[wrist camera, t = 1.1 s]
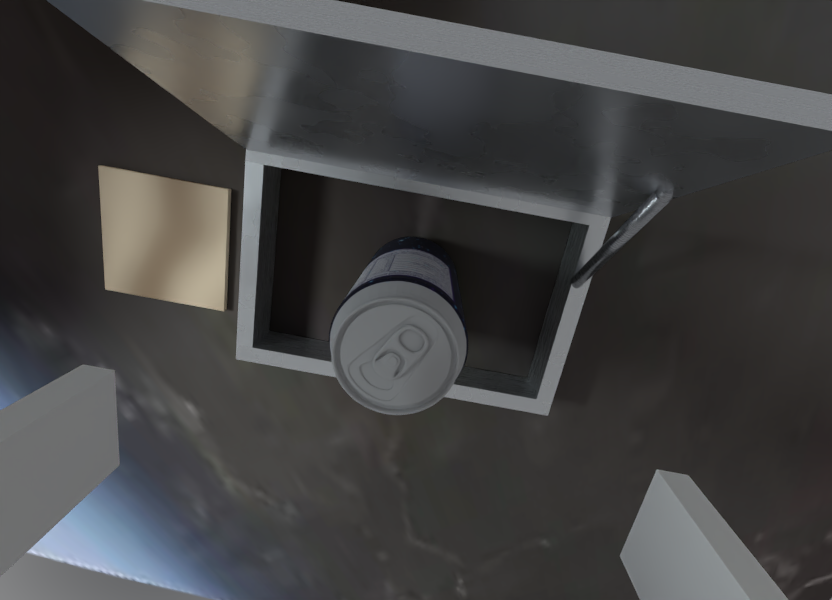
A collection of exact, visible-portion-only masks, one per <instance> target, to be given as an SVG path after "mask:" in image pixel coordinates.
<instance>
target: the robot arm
mask: <svg viewBox="0 0 832 600" xmlns="http://www.w3.org/2000/svg"><path fill="white" fill-rule="evenodd" d="M119 465H120V463H119V443H118V424H117V405H116V385H115V370H111V369H105V368H100V367H94V366H89V365H81V366H79V367H77V368H76V369H74V370H72V371H70V372H69V373H67V374H65V375H63V376H61V377H60V378H58V379H56V380H54V381H52V382H51V383H49V384H47V385H45V386H43V387H42V388H40V389H38V390H36V391H35V392H33V393H31V394H29V395H27V396H26V397H24V398H22V399H20V400H18V401H17V402H15V403H13V404H11V405H9V406H8V407H6V408H4V409H2V410H0V576H1V575H3V574H4V573H5V572H6V571H7V570H8V569H9V568H10V567H11V566H12V565H13V564H14V563H15V562H17V561H18V560H19V559H20V558H21V557H22V556H23V555H24V554H25V553H26V552H27V551H28V550H29V549H30V548H31V547H33V546H34V545H35V544H36V543H37V542H38V541H39V540H40V539H41V538H42V537H43V536H44V535H45V534H46V533H47V532H49V531H50V530H51V529H52V528H53V527H54V526H55V525H56V524H57V523H58V522H59V521H60V520H61V519H62V518H63V517H65V516H66V515H67V514H68V513H69V512H70V511H71V510H72V509H73V508H74V507H75V506H76V505H77V504H78V503H79V502H81V501H82V500H83V499H84V498H85V497H86V496H87V495H88V494H89V493H90V492H91V491H92V490H93V489H94V488H96V487H97V486H98V485H99V484H100V483H101V482H102V481H103V480H104V479H105V478H106V477H107V476H108V475H109V474H110V473H112V472H113V471H114V470H115V469H116V468H117V467H118V466H119ZM620 558H621V560H622V562H623V564H624V566H625V568H626V571H627V573H628V575H629V577H630V579H631V581H632V584H633V586H634V588H635V590H636V592H637V594H638V597H639V599H640V600H788V598H787V597H786V596H785V595H784V594H783V592H782V591H781V590H780V589H779V587H778V586H777V585H776V584H775V582H774V581H773V580H772V579H771V577H770V576H769V575H768V574H767V572H766V571H765V570H764V569H763V567H762V566H761V565H760V564H759V562H758V561H757V560H756V559H755V557H754V556H753V555H752V554H751V552H750V551H749V550H748V549H747V547H746V546H745V545H744V544H743V543H742V541H741V540H740V539H739V538H738V536H737V535H736V534H735V533H734V531H733V530H732V529H731V528H730V526H729V525H728V524H727V523H726V521H725V520H724V519H723V518H722V516H721V515H720V514H719V513H718V511H717V510H716V509H715V508H714V506H713V505H712V504H711V503H710V501H709V500H708V499H707V498H706V496H705V495H704V494H703V493H702V492H701V490H700V489H699V488H698V487H697V485H696V484H695V483H694V482H693V480H692V479H691V478H690V477H689V475H685V474H680V473H674V472H669V471H663V470H658V469H657V470H656V472H655V475H654V477H653V479H652V482H651V484H650V486H649V489H648V491H647V493H646V496H645V498H644V500H643V503H642V505H641V507H640V510H639V512H638V514H637V517H636V519H635V521H634V524H633V526H632V528H631V531H630V533H629V535H628V538H627V540H626V542H625V545H624V547H623V549H622V552H621V554H620Z"/></svg>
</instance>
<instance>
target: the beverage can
mask: <svg viewBox="0 0 832 600" xmlns="http://www.w3.org/2000/svg"><path fill="white" fill-rule="evenodd" d="M329 348H330V353H331V359H332V365H333V369H334V372H335V375H336V377H337V379H338V381H339V383H340V385H341V386H342V387H343V389H344V390H345V391H346V393H347V394H348V395H350V396H351V397H352V398H353V399H354V400H355V401H357V402H358V403H359V404H361V405H363V406H365V407H366V408H368V409H371V410H373V411H376V412H379V413H384V414H389V415H407V414H412V413H417V412H420V411H422V410H425V409H427V408H429V407H431V406H433V405H434V404H436V403H437V402H438V401H440V400H441V399H442V398H443V397H444V396H445V395H446V394H447V393H448V391H449V390H450V389H451V387H452V386H453V384H454V382H455V381H456V380H457V378H458V377H459V375H460V373H461V372H462V370H463V367H464V365H465V362H466V358H467V354H468V335H467V329H466V323H465V318H464V312H463V307H462V301H461V295H460V290H459V284H458V279H457V273H456V269H455V266H454V264H453V262H452V260H451V258H450V256H449V255H448V254H447V253H446V252H445V250H443V249H442V248H441V247H440V246H439V245H437V244H436V243H434V242H432V241H430V240H427V239H424V238H420V237H402V238H398V239H395V240H393V241H391V242H389V243H387V244H385V245H384V246H383V247H382V248H380V249H379V250H378V252H377V253H376V254H375V255H374V257H373V258H372V260H371V261H370V263H369V264H368V265H367V267H366V268H365V270H364V271H363V273H362V274H361V276H360V277H359V279H358V280H357V281H356V283H355V284H354V286H353V287H352V289H351V290H350V292H349V293H348V295H347V296H346V297H345V299H344V300H343V302H342V303H341V305H340V306H339V308H338V309H337V311H336V313H335V315H334V317H333V320H332V323H331V327H330V332H329Z"/></svg>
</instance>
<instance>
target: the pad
mask: <svg viewBox="0 0 832 600" xmlns="http://www.w3.org/2000/svg"><path fill="white" fill-rule="evenodd" d="M98 170H99V187H100V205H101V223H102V241H103V259H104V277H105V290H111V291H116V292H122V293H127V294H133V295H138V296H143V297H149V298H154V299H160V300H165V301H171V302H176V303H182V304H187V305H193V306H198V307H204V308H209V309H215V310H220V311H225V310H226V309H227V288H228V262H229V237H230V211H231V189H228V188H223V187H217V186H212V185H207V184H201V183H196V182H190V181H185V180H180V179H174V178H169V177H163V176H158V175H153V174H147V173H142V172H136V171H131V170H126V169H120V168H115V167H109V166H104V165H98Z"/></svg>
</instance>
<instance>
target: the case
mask: <svg viewBox="0 0 832 600" xmlns="http://www.w3.org/2000/svg"><path fill="white" fill-rule="evenodd" d="M46 1H48V2H49V3H50V4H52V5H53V6H54V7H56V8H57V9H58V10H60V11H61V12H62V13H64V14H65V15H66V16H68V17H69V18H70V19H72V20H73V21H74V22H76V23H77V24H78V25H80V26H81V27H82V28H84V29H85V30H86V31H88V32H89V33H90V34H92V35H93V36H94V37H96V38H97V39H98V40H100V41H101V42H102V43H104V44H105V45H107V46H108V47H109V48H111V49H112V50H113V51H115V52H116V53H117V54H119V55H120V56H121V57H123V58H124V59H125V60H127V61H128V62H129V63H131V64H132V65H133V66H135V67H136V68H137V69H139V70H140V71H141V72H143V73H144V74H145V75H147V76H148V77H149V78H151V79H152V80H153V81H155V82H156V83H157V84H159V85H160V86H161V87H163V88H164V89H165V90H167V91H168V92H169V93H171V94H172V95H173V96H175V97H176V98H177V99H179V100H180V101H181V102H183V103H184V104H185V105H187V106H188V107H189V108H191V109H192V110H193V111H195V112H196V113H197V114H199V115H200V116H201V117H203V118H204V119H205V120H207V121H208V122H209V123H211V124H212V125H213V126H215V127H216V128H217V129H219V130H220V131H221V132H223V133H224V134H225V135H227V136H228V137H229V138H231V139H232V140H233V141H235V142H236V143H237V144H239V145H240V146H241V147H243V148H244V149H246V159H245V180H244V201H243V221H242V242H241V263H240V284H239V304H238V325H237V346H236V359H238V360H244V361H249V362H255V363H260V364H266V365H271V366H277V367H282V368H288V369H294V370H299V371H305V372H310V373H316V374H321V375H327V376H332V377H336V375H335V372H334V369H333V365H332V359H331V353H330V348H329V341H323V340H318V339H312V338H307V337H301V336H296V335H290V334H285V333H279V332H274V331H269V330H270V316H271V303H272V289H273V275H274V262H275V248H276V235H277V221H278V208H279V194H280V181H281V168H285V169H290V170H295V171H301V172H306V173H311V174H317V175H322V176H328V177H333V178H338V179H344V180H349V181H354V182H360V183H365V184H371V185H376V186H381V187H387V188H392V189H397V190H403V191H408V192H414V193H419V194H424V195H430V196H435V197H440V198H446V199H451V200H457V201H462V202H467V203H473V204H478V205H483V206H489V207H494V208H500V209H505V210H510V211H516V212H521V213H526V214H532V215H537V216H543V217H548V218H553V219H559V220H564V221H569V222H573V223H572V227H571V230H570V233H569V237H568V240H567V244H566V247H565V251H564V254H563V257H562V261H561V264H560V268H559V271H558V275H557V278H556V281H555V285H554V288H553V292H552V295H551V299H550V302H549V305H548V309H547V312H546V316H545V319H544V323H543V326H542V329H541V333H540V336H539V340H538V343H537V347H536V350H535V353H534V357H533V360H532V364H531V367H530V371H529V374H528V377H527V378H526V377H520V376H515V375H510V374H504V373H499V372H493V371H488V370H482V369H477V368H471V367H466V366H464V367H463V370H462V372H461V373H460V375H459V377H458V378H457V380H456V381H455V382H454V384H453V386H452V387H451V389H450V390H449V391H448V393H447V394H446V395H445V396H444V397H448V398H453V399H459V400H464V401H470V402H475V403H481V404H486V405H492V406H497V407H503V408H508V409H514V410H519V411H525V412H530V413H536V414H541V415H547V416H548V414H549V411H550V407H551V404H552V401H553V398H554V395H555V392H556V389H557V385H558V382H559V379H560V376H561V373H562V370H563V367H564V363H565V360H566V357H567V354H568V351H569V348H570V345H571V342H572V338H573V335H574V332H575V329H576V326H577V323H578V320H579V316H580V313H581V310H582V307H583V304H584V301H585V298H586V294H587V291H588V288H589V285H590V282H591V279H592V276H593V275H594V274H595V273H596V272H597V271H598V270H599V269H600V268H601V267H602V266H603V265H604V264H605V263H606V262H607V261H608V260H609V259H610V258H611V257H612V256H613V255H614V254H616V253H617V252H618V251H619V250H620V249H621V248H622V247H623V246H624V245H625V244H626V243H627V242H628V241H629V240H630V239H631V238H632V237H633V236H634V235H635V234H636V233H637V232H638V231H640V230H641V229H642V228H643V227H644V226H645V225H646V224H647V223H648V222H649V221H650V220H651V219H652V218H653V217H654V216H655V215H656V214H657V213H658V212H659V211H660V210H661V209H662V208H664V207H665V206H666V205H667V204H668V203H669V202H670V201H671V200H672V199H674V198H678V197H681V196H684V195H687V194H691V193H694V192H697V191H700V190H704V189H707V188H710V187H713V186H717V185H720V184H723V183H727V182H730V181H733V180H736V179H740V178H743V177H746V176H749V175H753V174H756V173H759V172H762V171H766V170H769V169H772V168H775V167H779V166H782V165H785V164H789V163H792V162H795V161H798V160H802V159H805V158H808V157H811V156H815V155H818V154H821V153H824V152H828V151H831V150H832V94H826V93H821V92H816V91H811V90H805V89H800V88H795V87H790V86H784V85H779V84H774V83H769V82H763V81H758V80H753V79H747V78H742V77H737V76H732V75H726V74H721V73H716V72H711V71H705V70H700V69H695V68H690V67H684V66H679V65H674V64H668V63H663V62H658V61H653V60H647V59H642V58H637V57H632V56H626V55H621V54H616V53H611V52H605V51H600V50H595V49H589V48H584V47H579V46H574V45H568V44H563V43H558V42H553V41H547V40H542V39H537V38H532V37H526V36H521V35H516V34H510V33H505V32H500V31H495V30H489V29H484V28H479V27H474V26H468V25H463V24H458V23H452V22H447V21H442V20H437V19H431V18H426V17H421V16H416V15H410V14H405V13H400V12H395V11H389V10H384V9H379V8H373V7H368V6H363V5H358V4H352V3H347V2H342V1H337V0H46ZM635 210H636V211H635ZM632 211H635V212H634V213H633V214H632V215H631V216H630V218H629V219H628V220H627V221H626V222H625V223H624V224H623V225H622V226H621V227H620V228H619V229H618V230H617V231H616V232H615V233H614V234H613V235H612V236H611V237H610V238H609V240H608V241H607V242H606V243H605V244H604V245H603V246H602V244H603V241H604V238H605V235H606V232H607V228H608V225H609V222H610V219H611V218H612V217H616V216H619V215H622V214H625V213H629V212H632Z"/></svg>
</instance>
